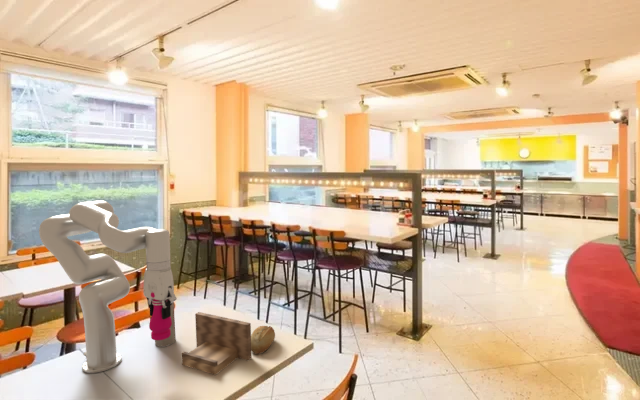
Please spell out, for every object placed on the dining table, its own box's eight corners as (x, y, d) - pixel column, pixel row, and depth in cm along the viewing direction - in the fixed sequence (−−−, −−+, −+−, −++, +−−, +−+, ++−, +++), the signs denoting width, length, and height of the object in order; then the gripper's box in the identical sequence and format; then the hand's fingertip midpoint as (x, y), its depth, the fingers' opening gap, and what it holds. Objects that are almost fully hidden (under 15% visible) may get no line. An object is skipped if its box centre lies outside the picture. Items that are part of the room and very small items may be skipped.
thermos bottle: (175, 336, 155) (172, 273, 152) (175, 344, 147) (172, 279, 145) (155, 339, 152) (152, 276, 149) (154, 348, 144) (150, 281, 142)
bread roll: (279, 338, 152) (278, 320, 151) (269, 356, 137) (268, 337, 137) (257, 337, 153) (257, 319, 153) (245, 355, 139) (245, 335, 138)
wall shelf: (172, 361, 134) (170, 326, 133) (200, 344, 147) (198, 311, 146) (226, 378, 123) (225, 339, 122) (251, 358, 136) (250, 323, 135)
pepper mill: (163, 342, 119) (161, 285, 117) (144, 340, 121) (142, 283, 119) (176, 332, 126) (175, 278, 125) (158, 330, 128) (156, 276, 126)
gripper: (131, 264, 121) (133, 315, 123) (167, 271, 114) (169, 325, 116) (150, 259, 128) (152, 307, 130) (185, 265, 121) (186, 316, 123)
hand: (160, 315), depth 123 cm, fingers closed on pepper mill, 5 cm apart
